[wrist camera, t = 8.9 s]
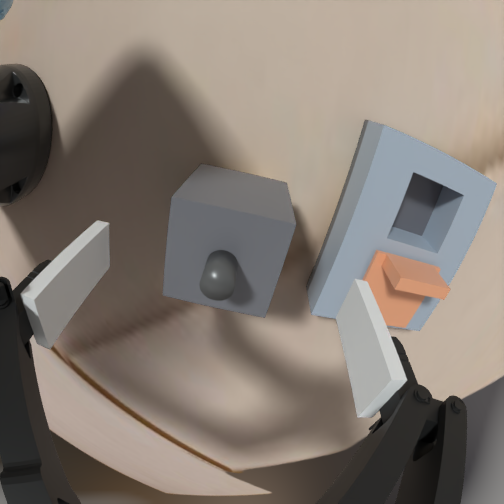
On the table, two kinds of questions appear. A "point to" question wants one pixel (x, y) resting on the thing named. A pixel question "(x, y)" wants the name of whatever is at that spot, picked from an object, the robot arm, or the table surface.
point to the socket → (398, 216)
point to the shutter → (402, 286)
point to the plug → (227, 239)
